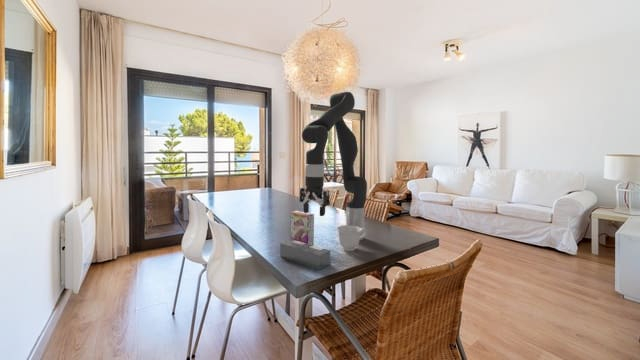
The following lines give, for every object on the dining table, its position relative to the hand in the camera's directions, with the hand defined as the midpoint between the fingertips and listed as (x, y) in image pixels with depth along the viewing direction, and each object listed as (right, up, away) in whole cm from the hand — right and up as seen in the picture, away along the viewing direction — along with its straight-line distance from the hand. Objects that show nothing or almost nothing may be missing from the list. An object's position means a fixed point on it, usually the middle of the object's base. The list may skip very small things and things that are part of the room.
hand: (313, 214), depth 116 cm
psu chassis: (-4, -20, +3) cm, 20 cm away
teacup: (+18, -19, +17) cm, 31 cm away
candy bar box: (-6, -18, +21) cm, 28 cm away
